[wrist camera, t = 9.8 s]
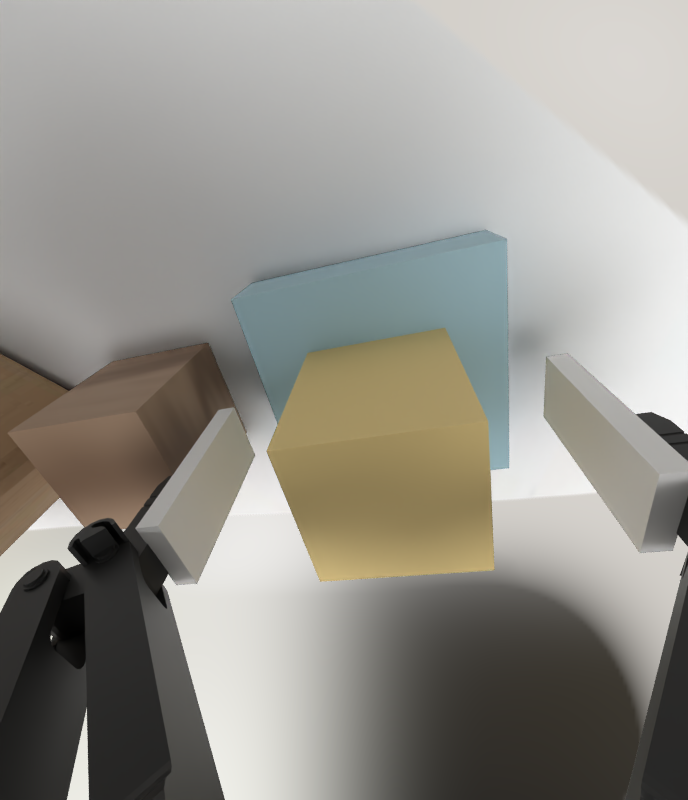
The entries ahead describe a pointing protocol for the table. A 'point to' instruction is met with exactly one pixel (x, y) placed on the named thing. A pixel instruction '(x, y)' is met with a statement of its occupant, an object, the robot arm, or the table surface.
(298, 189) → the table surface
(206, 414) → the brick
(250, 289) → the base brick
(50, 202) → the table surface
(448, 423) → the brick
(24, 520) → the wooden block
